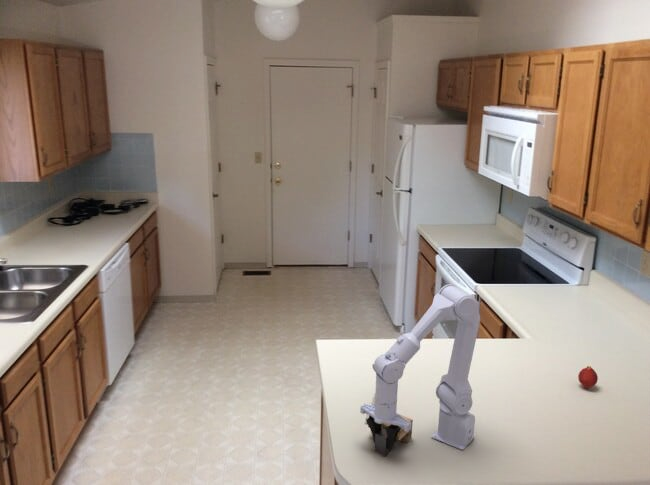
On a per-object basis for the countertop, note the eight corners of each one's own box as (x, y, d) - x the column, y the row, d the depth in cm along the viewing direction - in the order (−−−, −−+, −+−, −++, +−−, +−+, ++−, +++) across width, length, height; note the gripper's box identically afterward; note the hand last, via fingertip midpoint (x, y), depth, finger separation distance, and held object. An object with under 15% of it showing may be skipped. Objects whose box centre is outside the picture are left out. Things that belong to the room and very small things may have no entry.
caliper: (380, 391, 187) (381, 373, 185) (383, 391, 187) (384, 374, 185) (364, 425, 168) (365, 405, 167) (368, 425, 168) (368, 406, 166)
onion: (581, 381, 195) (584, 360, 193) (598, 388, 191) (602, 366, 189) (574, 387, 191) (577, 365, 189) (591, 394, 187) (595, 371, 185)
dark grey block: (385, 456, 153) (386, 438, 152) (374, 451, 155) (375, 433, 154) (401, 443, 159) (402, 425, 158) (390, 438, 162) (391, 420, 160)
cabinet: (411, 439, 161) (412, 419, 160) (398, 451, 156) (399, 431, 154) (380, 426, 167) (381, 407, 166) (367, 437, 162) (368, 418, 160)
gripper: (354, 396, 153) (353, 441, 156) (402, 415, 144) (399, 462, 148) (369, 386, 158) (367, 429, 162) (416, 403, 150) (413, 449, 153)
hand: (383, 444), depth 155 cm, fingers closed on dark grey block, 4 cm apart
